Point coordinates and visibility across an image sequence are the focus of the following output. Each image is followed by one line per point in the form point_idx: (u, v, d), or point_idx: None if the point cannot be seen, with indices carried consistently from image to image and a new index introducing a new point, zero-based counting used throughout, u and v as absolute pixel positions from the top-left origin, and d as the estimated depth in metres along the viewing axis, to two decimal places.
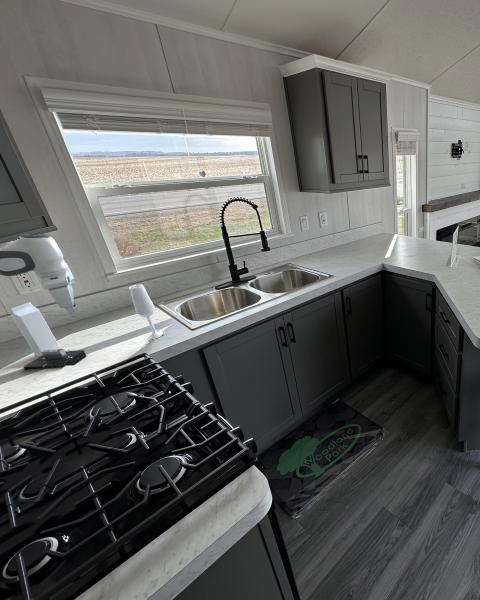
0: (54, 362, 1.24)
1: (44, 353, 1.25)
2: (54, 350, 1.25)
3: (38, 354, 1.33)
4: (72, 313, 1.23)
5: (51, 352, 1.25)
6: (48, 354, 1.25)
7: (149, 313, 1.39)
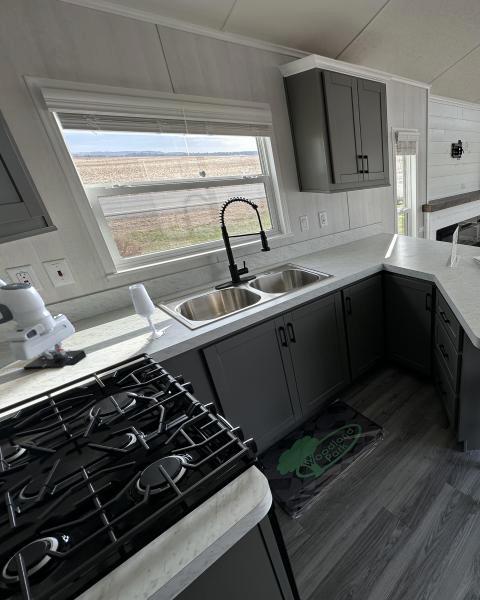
0: (54, 362, 1.24)
1: None
2: (54, 350, 1.25)
3: None
4: (49, 358, 1.24)
5: (51, 352, 1.25)
6: None
7: (149, 313, 1.39)
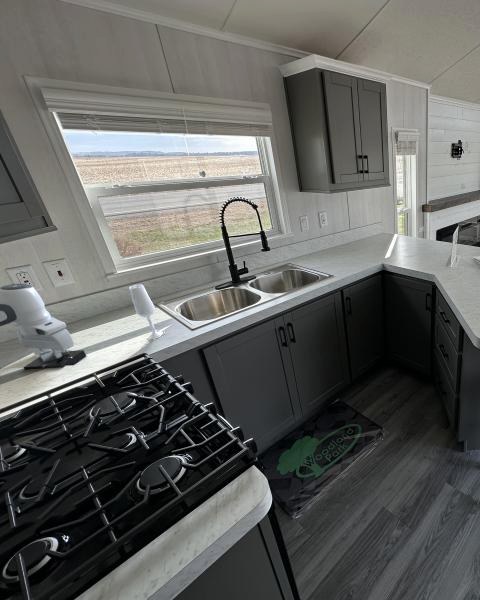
0: (54, 362, 1.24)
1: (44, 355, 1.23)
2: None
3: (38, 354, 1.33)
4: (58, 356, 1.25)
5: None
6: (49, 355, 1.24)
7: (149, 313, 1.39)
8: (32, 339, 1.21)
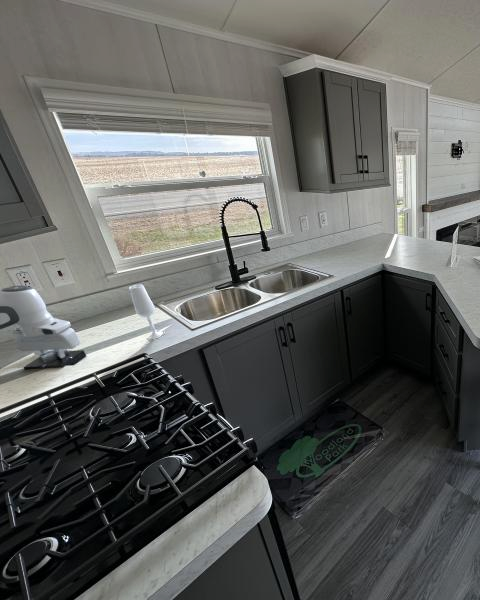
0: (54, 362, 1.24)
1: (46, 356, 1.23)
2: None
3: (38, 354, 1.33)
4: (62, 356, 1.26)
5: (54, 351, 1.25)
6: (50, 355, 1.24)
7: (149, 313, 1.39)
8: (33, 341, 1.21)
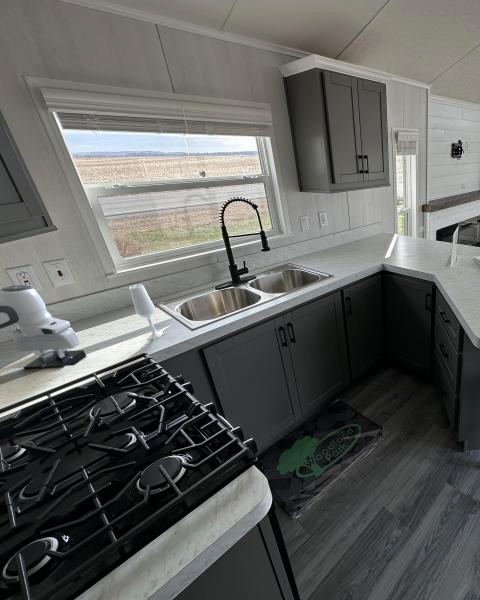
0: (54, 362, 1.24)
1: (46, 356, 1.23)
2: None
3: (38, 354, 1.33)
4: (62, 356, 1.26)
5: (54, 351, 1.25)
6: (51, 355, 1.24)
7: (149, 313, 1.39)
8: (33, 341, 1.21)
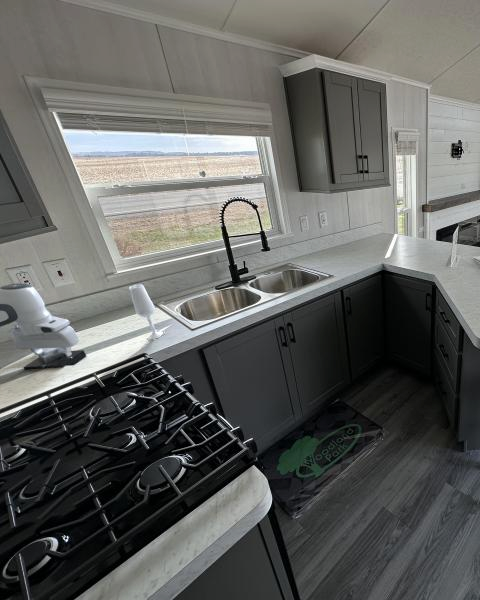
0: (54, 362, 1.24)
1: (46, 356, 1.23)
2: (55, 349, 1.26)
3: None
4: (69, 354, 1.26)
5: (54, 351, 1.25)
6: (51, 355, 1.24)
7: (149, 313, 1.39)
8: (32, 339, 1.21)
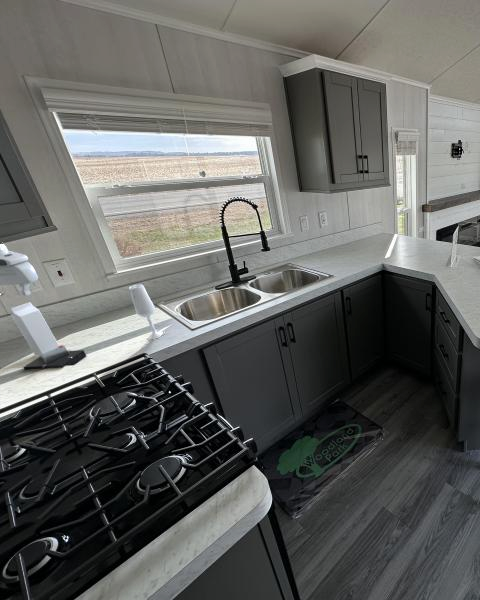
0: (54, 362, 1.24)
1: (46, 356, 1.23)
2: (55, 349, 1.26)
3: (38, 354, 1.33)
4: (27, 293, 1.19)
5: (54, 351, 1.25)
6: (51, 355, 1.24)
7: (149, 313, 1.39)
8: None
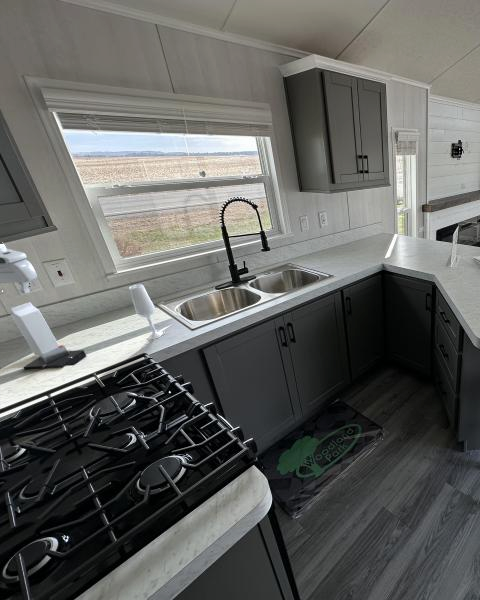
0: (54, 362, 1.24)
1: (46, 356, 1.23)
2: (55, 349, 1.26)
3: (38, 354, 1.33)
4: (27, 291, 1.19)
5: (54, 351, 1.25)
6: (51, 355, 1.24)
7: (149, 313, 1.39)
8: None
